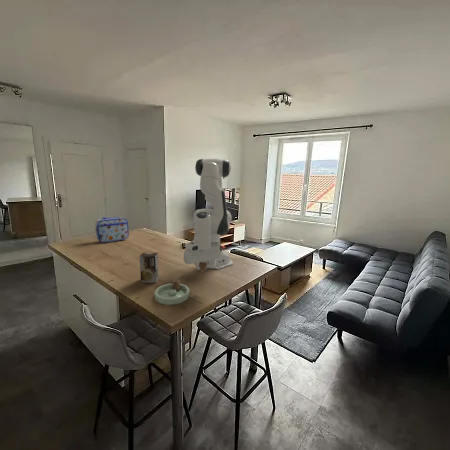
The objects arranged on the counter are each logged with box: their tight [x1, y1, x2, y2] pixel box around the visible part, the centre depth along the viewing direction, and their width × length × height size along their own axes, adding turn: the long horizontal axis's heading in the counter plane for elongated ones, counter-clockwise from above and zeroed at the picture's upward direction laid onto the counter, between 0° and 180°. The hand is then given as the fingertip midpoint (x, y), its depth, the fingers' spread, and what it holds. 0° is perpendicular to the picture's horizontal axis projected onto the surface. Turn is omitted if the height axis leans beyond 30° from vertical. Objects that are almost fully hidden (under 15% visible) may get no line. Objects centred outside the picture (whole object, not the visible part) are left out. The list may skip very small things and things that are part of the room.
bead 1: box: [172, 279, 181, 292], centre depth 128 cm, size 4×4×5 cm
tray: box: [154, 283, 191, 306], centre depth 124 cm, size 17×17×3 cm
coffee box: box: [139, 252, 160, 284], centre depth 140 cm, size 9×6×16 cm
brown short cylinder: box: [198, 261, 207, 274], centre depth 129 cm, size 4×4×5 cm
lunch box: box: [94, 216, 130, 244], centre depth 216 cm, size 28×10×22 cm, turn 130°
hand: (202, 268), depth 129 cm, fingers closed on brown short cylinder, 4 cm apart
